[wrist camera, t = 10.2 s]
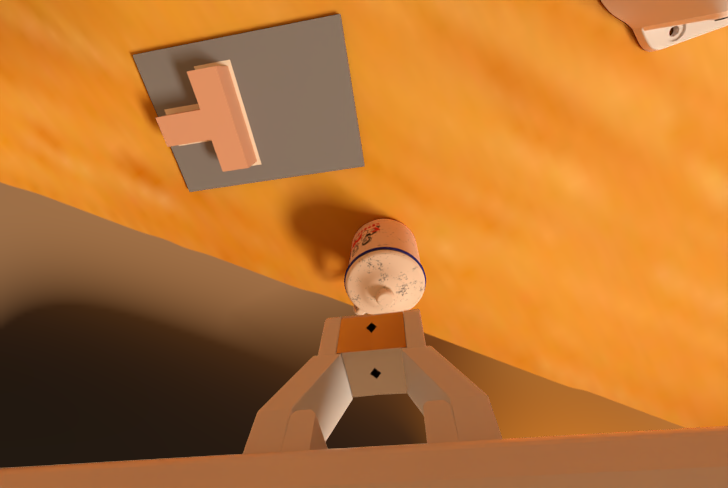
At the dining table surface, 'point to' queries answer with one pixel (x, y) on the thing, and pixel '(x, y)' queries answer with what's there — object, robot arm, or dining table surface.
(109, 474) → the robot arm
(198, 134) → the t block
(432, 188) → the dining table surface
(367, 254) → the teacup with lid
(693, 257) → the dining table surface
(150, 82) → the t mat
